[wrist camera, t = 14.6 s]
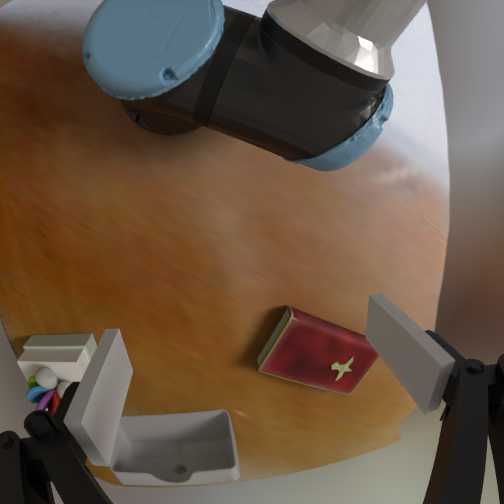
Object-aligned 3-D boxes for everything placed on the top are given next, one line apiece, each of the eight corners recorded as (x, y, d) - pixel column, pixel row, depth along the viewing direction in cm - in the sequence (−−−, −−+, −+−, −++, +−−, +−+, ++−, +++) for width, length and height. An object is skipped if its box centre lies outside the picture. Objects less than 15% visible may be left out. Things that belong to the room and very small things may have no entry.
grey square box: (31, 335, 47) (13, 358, 39) (92, 333, 48) (77, 359, 41) (57, 391, 51) (45, 417, 44) (115, 392, 53) (107, 421, 45)
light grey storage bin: (136, 458, 59) (130, 498, 48) (111, 415, 55) (99, 459, 43) (238, 451, 62) (245, 494, 50) (228, 407, 57) (234, 456, 45)
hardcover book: (286, 303, 52) (292, 315, 48) (376, 338, 57) (386, 349, 53) (253, 358, 54) (256, 372, 50) (343, 384, 59) (350, 397, 55)
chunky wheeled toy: (74, 413, 44) (63, 441, 37) (29, 384, 41) (13, 410, 34) (88, 388, 42) (76, 418, 36) (39, 356, 40) (21, 383, 33)
